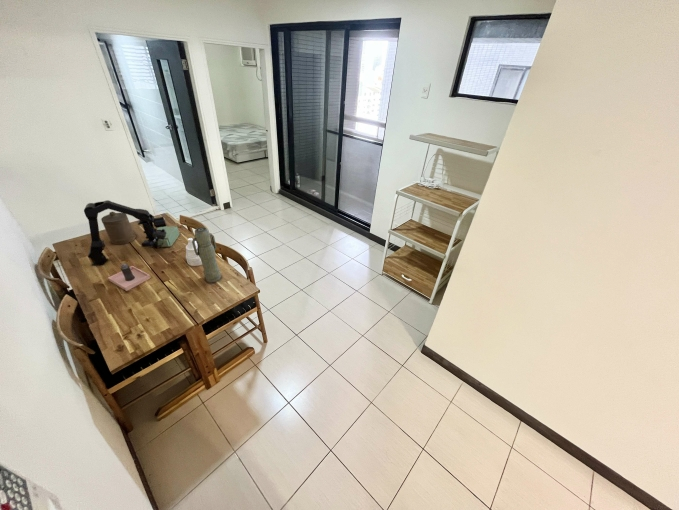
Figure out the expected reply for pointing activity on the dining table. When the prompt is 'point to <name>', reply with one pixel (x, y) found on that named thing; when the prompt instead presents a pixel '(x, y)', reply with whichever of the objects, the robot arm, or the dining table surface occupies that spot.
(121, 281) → the tray
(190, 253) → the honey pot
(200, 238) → the thermos
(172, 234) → the cabinet
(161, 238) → the robot arm
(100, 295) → the dining table surface
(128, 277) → the pepper mill
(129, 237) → the wooden container
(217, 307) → the dining table surface
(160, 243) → the drawer
